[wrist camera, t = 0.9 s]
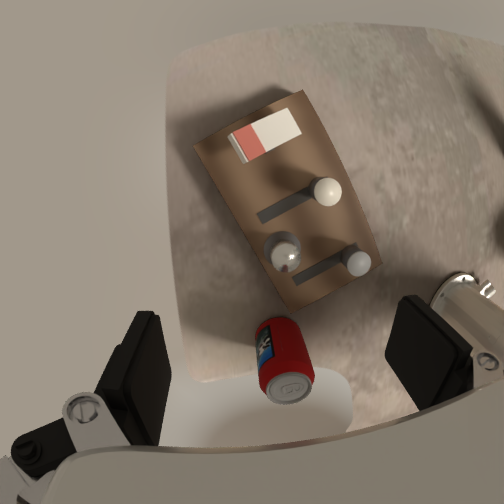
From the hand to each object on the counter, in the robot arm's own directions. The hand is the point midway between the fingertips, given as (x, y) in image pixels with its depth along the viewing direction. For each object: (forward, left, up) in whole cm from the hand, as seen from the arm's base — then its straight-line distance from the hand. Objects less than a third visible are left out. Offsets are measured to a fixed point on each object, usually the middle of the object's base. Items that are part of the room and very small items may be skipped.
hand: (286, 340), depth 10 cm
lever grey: (-8, +10, -23) cm, 26 cm away
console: (-5, +2, -26) cm, 27 cm away
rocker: (-5, -7, -21) cm, 23 cm away
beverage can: (+6, +18, -26) cm, 32 cm away
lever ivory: (-8, +1, -23) cm, 25 cm away
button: (-1, +5, -22) cm, 22 cm away
